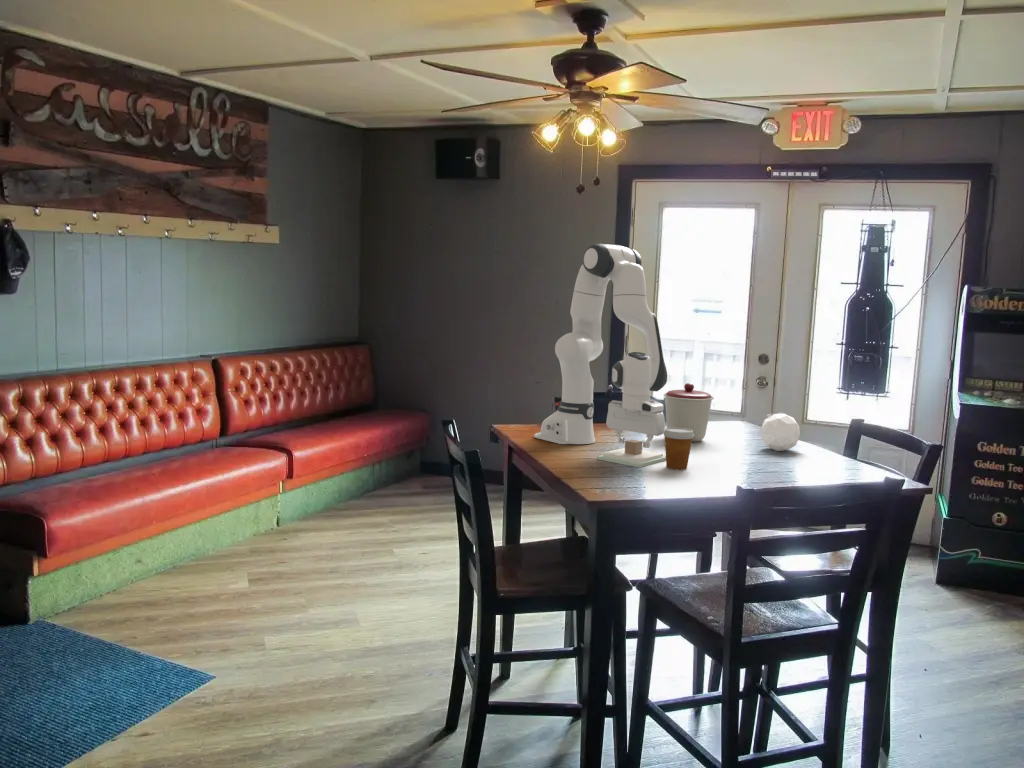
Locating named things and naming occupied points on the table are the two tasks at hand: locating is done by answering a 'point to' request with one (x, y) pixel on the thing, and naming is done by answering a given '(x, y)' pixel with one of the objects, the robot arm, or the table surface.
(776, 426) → the geodesic sphere
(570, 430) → the robot arm
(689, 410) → the canister
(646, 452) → the cover
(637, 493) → the table surface
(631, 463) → the mat
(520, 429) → the table surface
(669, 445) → the disposable coffee cup
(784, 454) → the table surface
